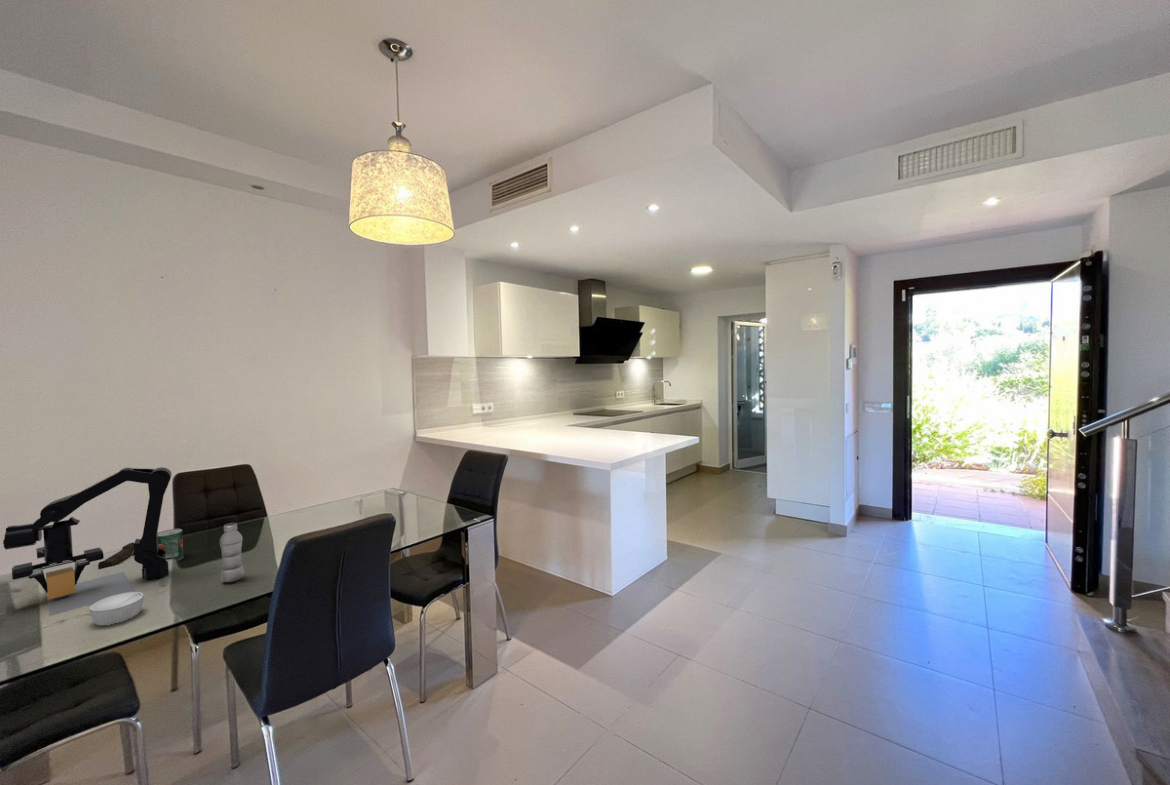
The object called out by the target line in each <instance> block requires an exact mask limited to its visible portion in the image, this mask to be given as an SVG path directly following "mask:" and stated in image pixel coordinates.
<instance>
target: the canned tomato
mask: <svg viewBox="0 0 1170 785" xmlns="http://www.w3.org/2000/svg"><path fill="white" fill-rule="evenodd" d="M157 534H158V543H159V548H160V549H162V550H164V551H166V552H167V556H166V561H167V560H173V559H175V560H176V561H181V560H183V558H185V557H184V546H183V544H184V540H183V538H184V537H183V529H181V528H171V529H165V530H162V531H159V532H157Z"/></svg>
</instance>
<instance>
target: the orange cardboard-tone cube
mask: <svg viewBox="0 0 1170 785" xmlns="http://www.w3.org/2000/svg"><path fill="white" fill-rule="evenodd" d="M74 569H75V568H74V567H73V566H69V567H66V568H65V567H64V568H60V569H56V570H53V571H52V570H51V571H47V572H45V579H46V583H47V590H48V593H47V596H48V600H49V599H53V598H57V597H60V596H64V595H68V594H72V593H76V591H75V575H74Z"/></svg>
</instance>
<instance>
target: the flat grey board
mask: <svg viewBox="0 0 1170 785" xmlns="http://www.w3.org/2000/svg"><path fill="white" fill-rule="evenodd" d="M75 591H76V593H72V594H68V596H67V597H65V598H62V599H55V598H53V599H49V600H48V596H47V593H46V592H45V591H44V593H45V597H46V601H47V606H48V612H49V615H50V616H55V615H58V614H61V613H65V612H69V611H72V610H75V609H80V608H83V607H87V606H89V605H90V606H91V605H93V604H94V603H96V602H98V601H100V600H102V599H104V598H107V597H110V596H114V595H117V594H122V593H128V592H137V591H136V590H135V588H134V586H133V585H132V582H130V580H129V578H128V577H127V576H126V574H125V572H124V571H121V572H116V573H113V574H110V575H109V574H108V575H105V576H101V577H97V578H93V579H90V580H85V581H82V582H77V584H76V586H75Z"/></svg>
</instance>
